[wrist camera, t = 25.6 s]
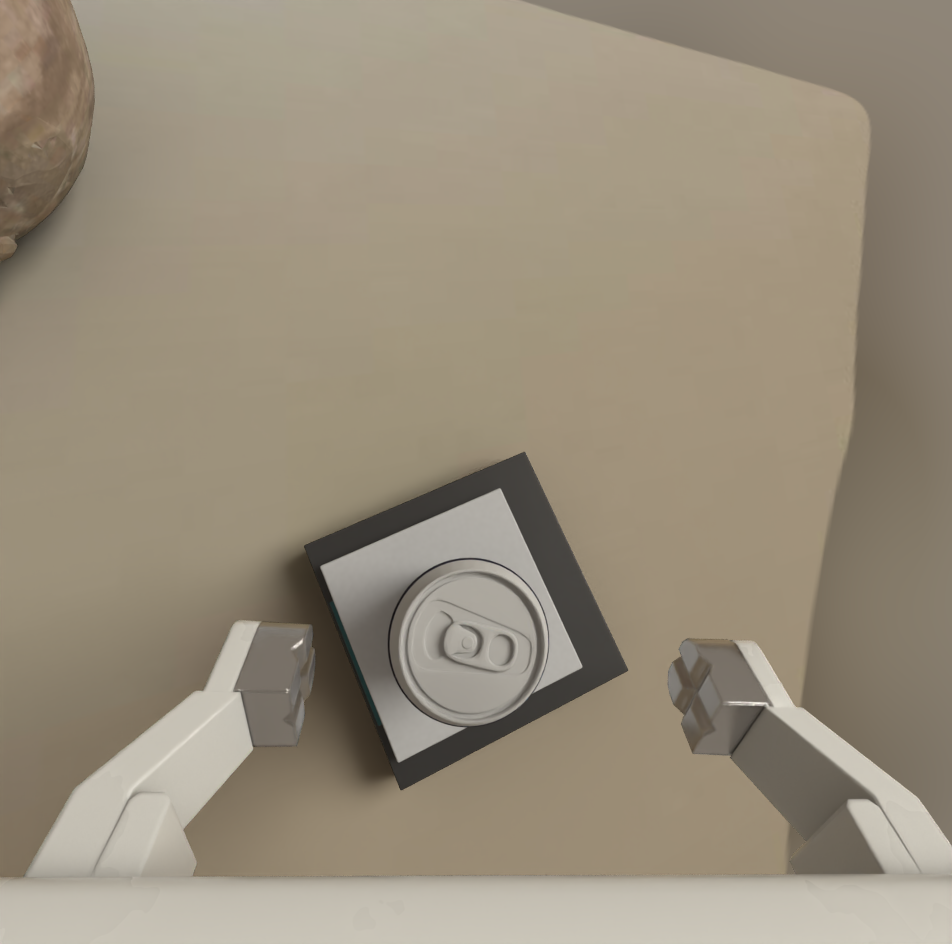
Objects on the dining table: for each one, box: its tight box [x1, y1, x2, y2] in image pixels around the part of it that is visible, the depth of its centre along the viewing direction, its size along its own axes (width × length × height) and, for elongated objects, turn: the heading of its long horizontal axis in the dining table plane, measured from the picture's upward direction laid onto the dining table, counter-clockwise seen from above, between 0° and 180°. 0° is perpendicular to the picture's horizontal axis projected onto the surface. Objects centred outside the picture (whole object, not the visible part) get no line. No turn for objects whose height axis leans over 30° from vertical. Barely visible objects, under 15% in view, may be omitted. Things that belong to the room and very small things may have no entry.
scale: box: [304, 452, 628, 790], centre depth 30 cm, size 14×14×3 cm
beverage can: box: [388, 558, 549, 727], centre depth 23 cm, size 6×6×12 cm
